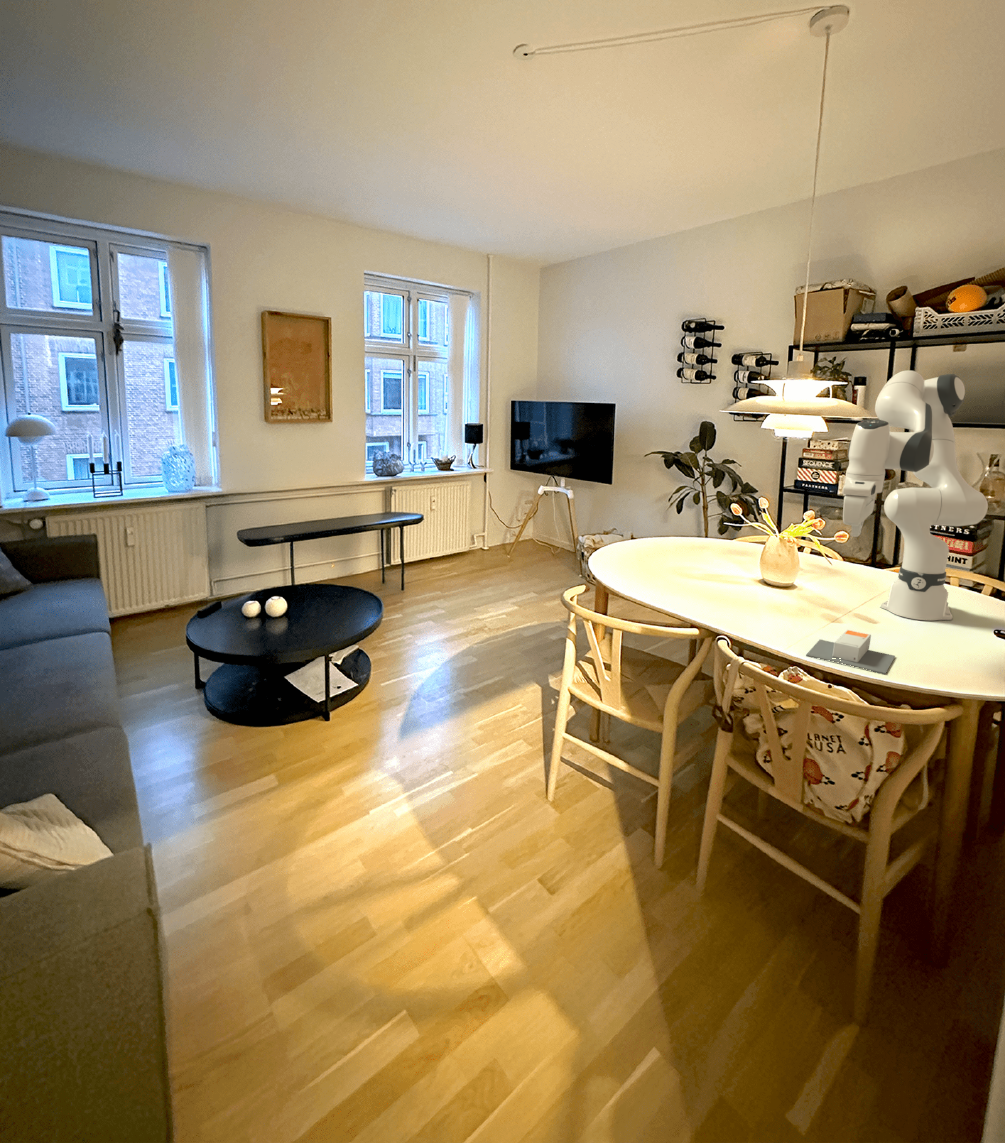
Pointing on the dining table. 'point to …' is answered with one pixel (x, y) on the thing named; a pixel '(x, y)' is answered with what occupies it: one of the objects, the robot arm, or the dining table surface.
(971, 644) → the dining table surface
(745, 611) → the dining table surface
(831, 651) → the mat
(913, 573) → the robot arm
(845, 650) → the skincare box
